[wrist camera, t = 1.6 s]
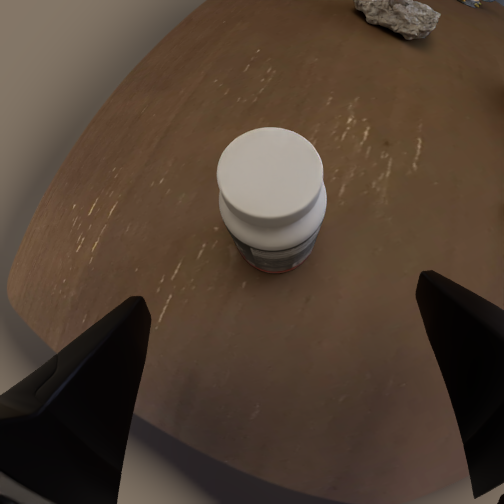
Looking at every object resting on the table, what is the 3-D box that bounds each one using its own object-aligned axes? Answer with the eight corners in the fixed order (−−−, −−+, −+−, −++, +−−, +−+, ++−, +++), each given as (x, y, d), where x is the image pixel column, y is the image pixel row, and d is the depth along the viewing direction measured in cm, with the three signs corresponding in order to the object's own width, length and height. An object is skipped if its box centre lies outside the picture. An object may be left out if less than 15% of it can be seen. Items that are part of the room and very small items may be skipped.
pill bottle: (233, 206, 23) (203, 126, 13) (306, 197, 23) (319, 111, 13) (241, 280, 21) (208, 238, 12) (320, 269, 21) (349, 219, 12)
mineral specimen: (421, 56, 27) (340, 15, 29) (432, 32, 29) (364, -3, 31) (437, 25, 21) (347, -18, 23) (444, 6, 23) (371, -30, 25)
